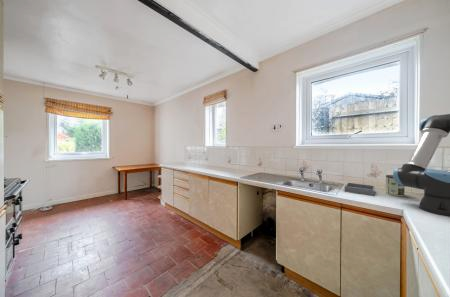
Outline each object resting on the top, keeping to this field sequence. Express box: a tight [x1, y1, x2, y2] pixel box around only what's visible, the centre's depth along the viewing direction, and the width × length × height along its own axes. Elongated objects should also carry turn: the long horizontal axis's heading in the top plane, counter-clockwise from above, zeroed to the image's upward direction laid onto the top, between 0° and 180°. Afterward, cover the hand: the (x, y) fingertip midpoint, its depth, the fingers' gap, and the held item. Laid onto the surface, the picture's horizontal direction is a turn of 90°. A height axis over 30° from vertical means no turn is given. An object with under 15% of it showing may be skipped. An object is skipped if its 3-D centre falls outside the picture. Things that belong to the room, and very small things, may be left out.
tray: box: [344, 182, 376, 196], centre depth 137 cm, size 18×18×4 cm
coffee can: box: [385, 174, 406, 197], centre depth 127 cm, size 10×10×14 cm
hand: (416, 175), depth 123 cm, fingers open, 13 cm apart
